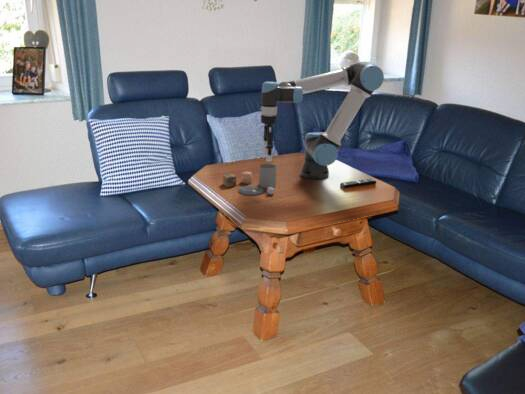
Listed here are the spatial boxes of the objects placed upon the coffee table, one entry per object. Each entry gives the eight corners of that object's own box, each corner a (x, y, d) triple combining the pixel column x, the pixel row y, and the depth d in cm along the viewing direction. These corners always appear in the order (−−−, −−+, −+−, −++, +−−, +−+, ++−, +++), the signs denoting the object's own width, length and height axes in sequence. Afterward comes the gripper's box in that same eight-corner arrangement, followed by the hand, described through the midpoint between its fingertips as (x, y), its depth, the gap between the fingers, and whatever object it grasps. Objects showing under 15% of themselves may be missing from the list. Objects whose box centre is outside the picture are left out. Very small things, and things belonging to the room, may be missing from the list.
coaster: (262, 186, 255) (262, 185, 255) (264, 195, 244) (264, 193, 244) (238, 187, 254) (238, 185, 254) (239, 195, 243) (239, 194, 243)
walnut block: (232, 183, 261) (232, 173, 259) (236, 186, 256) (236, 176, 255) (223, 184, 259) (223, 174, 257) (226, 187, 254) (226, 177, 253)
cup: (274, 188, 254) (274, 169, 250) (257, 187, 255) (258, 167, 252) (277, 183, 261) (277, 164, 258) (261, 181, 263) (261, 163, 260)
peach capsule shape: (251, 180, 265) (251, 171, 263) (252, 183, 260) (252, 174, 258) (241, 180, 264) (241, 171, 262) (242, 183, 259) (242, 174, 258)
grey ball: (273, 193, 247) (274, 185, 246) (274, 195, 244) (275, 188, 243) (266, 193, 247) (266, 186, 246) (267, 195, 243) (267, 188, 242)
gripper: (258, 109, 257) (257, 150, 265) (263, 119, 234) (262, 164, 241) (273, 110, 258) (272, 150, 265) (280, 120, 235) (278, 164, 242)
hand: (267, 157), depth 253 cm, fingers open, 13 cm apart
